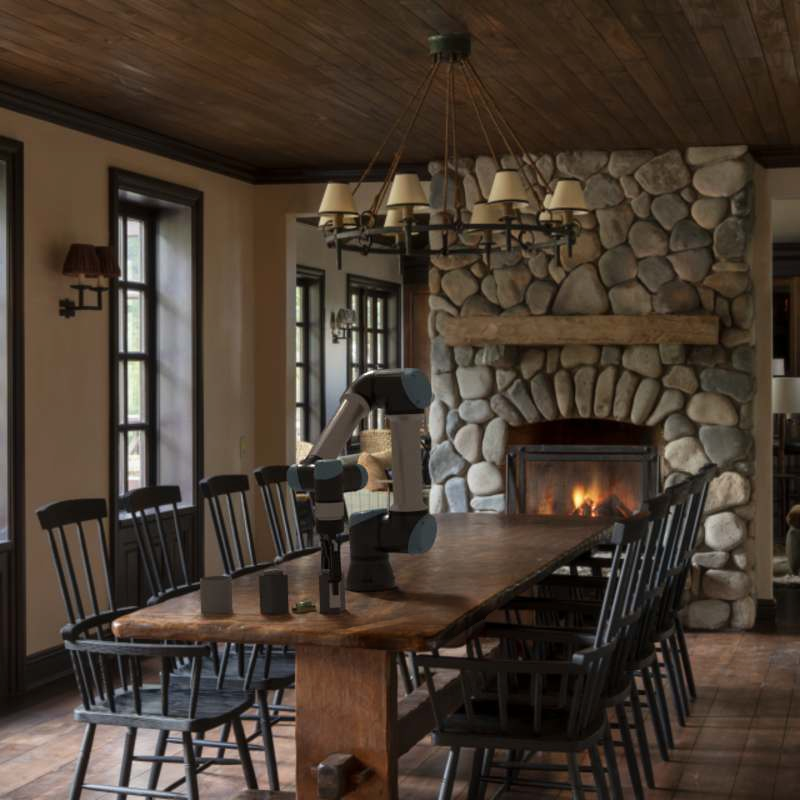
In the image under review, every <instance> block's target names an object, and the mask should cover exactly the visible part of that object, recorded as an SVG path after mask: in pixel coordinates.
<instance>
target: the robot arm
mask: <svg viewBox="0 0 800 800" xmlns="http://www.w3.org/2000/svg"><path fill="white" fill-rule="evenodd" d="M432 399H433V390H432V384H431V381H430V379H429V377H428V376H427V374H426V373H425V372H424V371H423V370H421V369H420V368H413V367H412V368H410V367H405V368H404V367H402V368H376V369H372V370H367V371H366V372H364V373H363V374H361V375H360V376H358V377H357V378H356V379H354V380H353V382H351V383H350V384H349V385H348V386H347V387H346V389H345V390H344V391H343V392H342V394H341V395H340V397H339V400H338V403H339V405H338V407H337V408H336V409H335V411H334V413H333V415H332V416H331V418H330V419H329V421H328V422H327V424H326V426H325V427H324V429H323V430H322V432H321V433H320V435H319V436H318V438H317V440H316V442H314V444H313V446H312V448H310V450H309V452H308V454H307V455H306V457H305V458H304V460H303V461H302V463H301V462H298V463H293V464H291V465H290V466H289V467H288V469H287V472H286V482H287V484H288V487H289V488H290V489H291V490H293V491H295V492H296V491H297V492H304V493H306V492H312V493H313V492H314V502H315V503H314V505H315V506H313V507H312V510H314V511H315V517H316V518H317V519H315V520H314V522H315V532H316V534H318V535H323V537H320V574H322V570H323V569H328V568H329V573H330V580H328V583H329V593H330V608H336V607H341V602H340V581H342V573H341V572H342V561H341V560H342V558H341V555H342V554H341V546H342V545H341V542H340V541H339V540H338V536H337V535H338V534H343V533H344V532H345V520H344V518H343V517H344V516H345V507H344V506H345V503H344V494H346V493H353V492H354V493H356V492H358V491H361V490H363V489H364V488H366V486H367V485H368V483H369V472H368V471H367V469H366V467H365V466H364V465H362V464H361V463H355V462H354V463H352V462H351V463H348V464H347V463H346V464H343V461H342V460H341V459H339V458H338V457H339V455H340V454H341V452H342V451H343V449H344V448H345V446H346V445H347V443H348V442H349V440H350V438H351V436H352V435H353V433H354V432H355V430H356V429H357V427H358V426H359V423H360V422H361V421H362V419H365V418H367V417H368V415H369V414H370V412H372V411H374V410H378V409H383V410H384V416H385V417H386V418H387V419H388V420H389V422H390V423H389V425H390V445H391V449H390V450H391V451H390V452H391V473H392V496H393V498H392V500H393V503H391V505H390V506H389V507H388V508H387V507H380V508H374V509H373V508H372V509H366V510H360V511H355V512H352V513H351V514H350V515H349V517H348V518H349V519H348V528H347V529H348V537H349V539H348V541H349V564H348V569H347V573H346V576H345V577H346V578H345V590H349V591H352V592H353V591H355V592H377V591H378V592H379V591H386V590H391V589H394V588H396V587H397V581H396V576H395V574H394V570H393V567H392V564H391V562H390V554H400V555H401V554H402V555H403V554H404V555H411V556H414V555H425V554H427V553H428V552H429V551H431V550H432V547H433V546H434V544H435V542H436V539H437V533H438V522H437V520H436V518H435V516H434V515H433V514H430V513H429V506H428V505H427V504H426V503H425V502H424V496H423V495H424V494H423V471H422V466H423V465H422V444H421V442H422V441H421V439H422V438H421V419H422V417H423V416H424V415H425V414H426V413H425V412H426V411H425V409H427V408H429V406H430V405H431V402H432ZM335 576H337V577H335Z"/></svg>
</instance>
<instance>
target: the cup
mask: <svg viewBox="0 0 800 800" xmlns="http://www.w3.org/2000/svg"><path fill="white" fill-rule="evenodd" d="M232 581H233V580H232V576H229V575H212V576H205V577H201V578H199V587H200V588H199V590H200V591H199V592H200V613H202V614H208V615H218V614H225V613H226V614H227V613H230V612H232V611H234V610H233V609H234V607H233V587H232V586H233V584H232V583H233V582H232Z"/></svg>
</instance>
